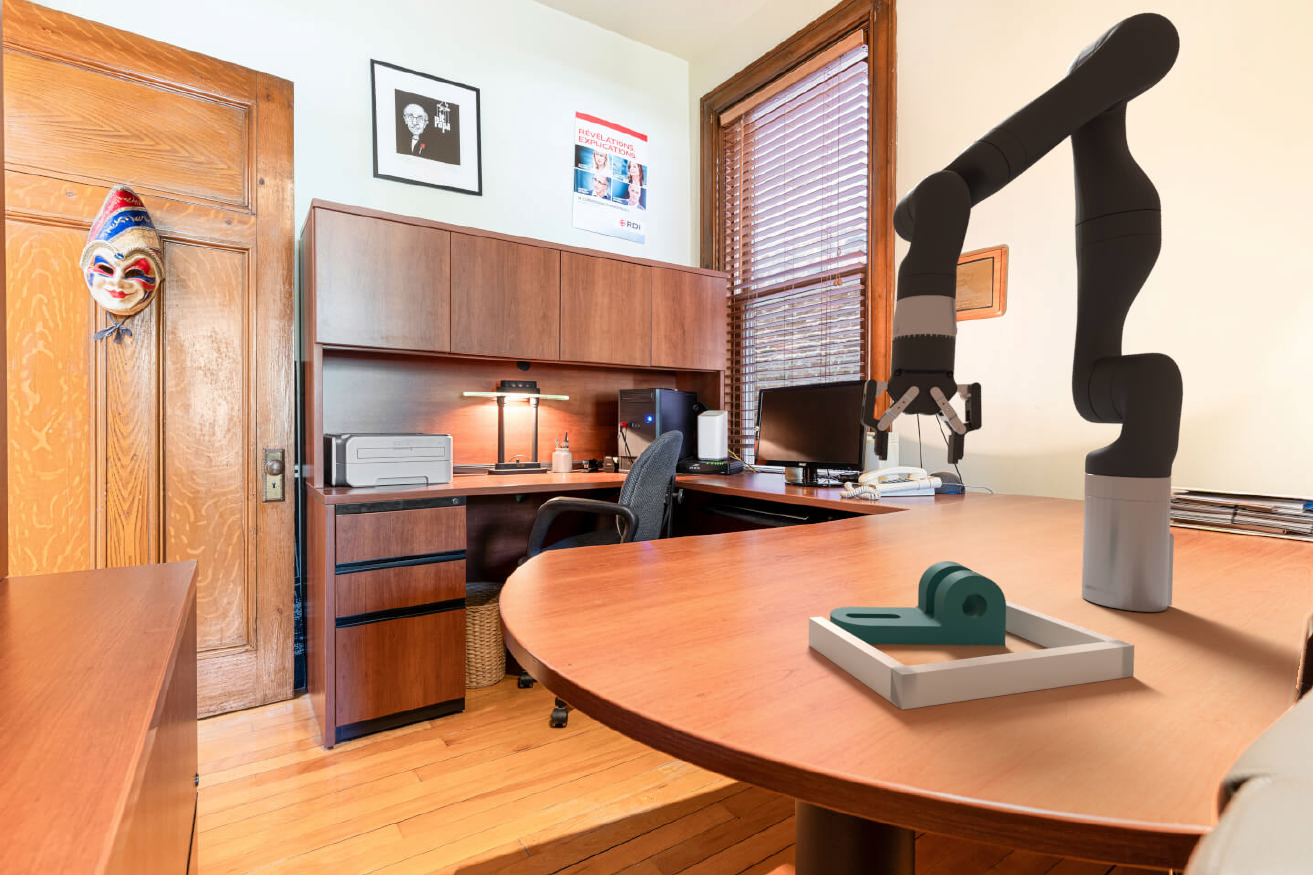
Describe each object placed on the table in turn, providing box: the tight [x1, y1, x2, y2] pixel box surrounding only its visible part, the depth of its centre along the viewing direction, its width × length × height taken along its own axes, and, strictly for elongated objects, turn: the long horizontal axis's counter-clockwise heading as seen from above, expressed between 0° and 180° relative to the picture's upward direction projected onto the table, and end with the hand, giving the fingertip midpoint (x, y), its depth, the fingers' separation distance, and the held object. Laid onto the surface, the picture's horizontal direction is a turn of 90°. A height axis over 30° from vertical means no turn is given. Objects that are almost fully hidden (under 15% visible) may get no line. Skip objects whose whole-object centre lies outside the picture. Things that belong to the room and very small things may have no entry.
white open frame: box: [808, 600, 1135, 710], centre depth 63 cm, size 26×16×3 cm, turn 106°
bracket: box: [829, 560, 1007, 647], centre depth 71 cm, size 18×7×8 cm, turn 89°
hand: (917, 462), depth 80 cm, fingers open, 8 cm apart
